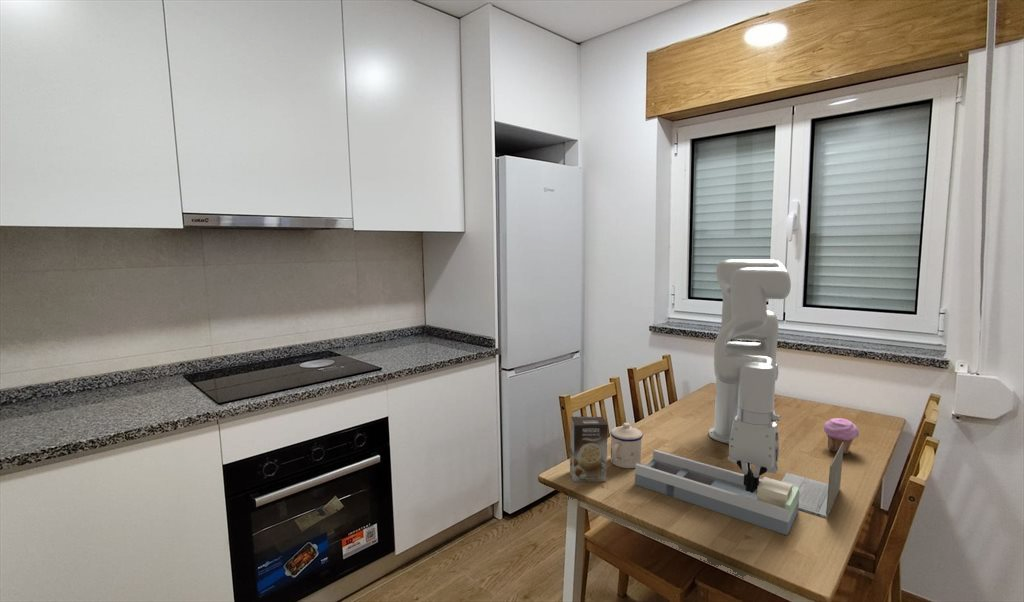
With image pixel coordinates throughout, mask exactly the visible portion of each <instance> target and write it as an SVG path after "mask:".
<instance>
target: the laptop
mask: <svg viewBox="0 0 1024 602" xmlns="http://www.w3.org/2000/svg"><path fill="white" fill-rule="evenodd" d="M843 447H844V442H842V444H841V446H840V448H839V450H838V452H836V454H835V456H834V458H833V460H832V462H831V464H830V467H829V474H828V483H827V482H822V481H818V480H815V479H811V478H808V477H806V476H802V475H801V476H800V475H797V474H794V473H791V472H786V473H785V474H784V475H783V477H782V479H781V480H780V481H781V482H785V483H788V484H792V488H794V486H795V487H798V488H799V490H800V493H799V507H798V511H799V510H800V511H802V512H805V513H808V514H812V515H815V516H818V517H822V518H825V519H828V517H829V514H830V512H831V510H830V509H832V508H833V505H834V503H835V501H836V498H837V495H838V493H839V492H840V490H841V481H842V471H843V470H842V469H843V468H842V467H843V457H844V456H843V455H844V454H843ZM834 500H835V501H834ZM831 507H832V508H831Z"/></svg>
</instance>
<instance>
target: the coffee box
mask: <svg viewBox="0 0 1024 602" xmlns="http://www.w3.org/2000/svg"><path fill="white" fill-rule="evenodd" d="M570 418H571V419H570V447H569V448H570V449H569V451H570V453H569V473H570V477H571V479H572V481H573V482H575V483H576V482H578V483H579V482H581V483H583V482H587V483H588V482H589V483H590V482H593V483H594V482H607V469H608V468H607V464H608V462H607V461H608V460H607V459H608V432H609V431H608V430H609V429H608V427H609V425H608V422H607V421H606V419H604V417H603V416H571V417H570Z"/></svg>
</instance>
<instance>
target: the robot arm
mask: <svg viewBox="0 0 1024 602" xmlns="http://www.w3.org/2000/svg"><path fill="white" fill-rule="evenodd" d="M715 272H716V273H715V274H716V279H717V282H718V285H719V287H720V290H721V293H722V308H721V309H722V310H721V329H720V331H719V332H718V334H717V336H716V339H715V341H714V348H713V350H714V351H713V367H714V368H713V369H714V370H713V371H714V375H715V377H716V379H715V380H716V381H715V399H714V401H715V402H714V424H713V427H711V428H710V429H709V430H708V435H709V437H710V438H712V439H713V440H715V441H717V442H720V443H724V444H728V457H727V459H728V461H729V462H732V463H733V464H735V465H737V466H738V468H739V469H740V470H741V472H742V473H741V474H744V485H745V486H746V491H747V492H748V491H750V492H751V493H753V492H754V491H755V489H757V488H758V485H759V479H760V476H762V475H763V474H765V473H769V474H771V473H772V474H776V473H777V472H778V470H779V467H778V462H779V456H780V455H779V454H780V447H779V445H780V443H779V441H780V439H779V430H778V429H779V428H778V425H777V423H776V422H781V415H778V414H776V412H775V408H774V407H775V395H776V393H775V392H776V381H777V380H778V379H779V365H778V364H777V362H776V360H777V348H778V338H779V321H778V317H777V315H776V314H775V312H773V311H771V310H768V308H767V300H784V299H786V298H788V296H789V294H790V292H791V287H792V283H791V277H790V274H789V271H788V269H787V268H786V267H785V266H784V264H783V263H782V262H780V261H779V260H777V259H776V260H775V259H736V258H735V259H725V260H724V259H723V260H722V261H720V262H718V264H717V266H716V271H715ZM731 340H733V341H731ZM734 340H740V341H734ZM746 341H747V342H746ZM748 341H751V342H748ZM752 341H755V342H752ZM775 362H776V363H775ZM751 464H752V465H754V468H753V470H752V468H751V467H752V465H751Z"/></svg>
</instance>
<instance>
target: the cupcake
mask: <svg viewBox="0 0 1024 602" xmlns="http://www.w3.org/2000/svg"><path fill="white" fill-rule="evenodd" d="M823 431H824V433H825V434H826V435H827V448H828V449H829V450H830V451H832V452H836V453H837V452H838V450H839V448H840V446H841V444H842V442H844V447H843V455H844V454H845V455H847V454H848V453H849V450H850V447H851V445H852V443H853V441H854V439H857V438H858V437H859V434H860V433H859V432H860V431H859V429H858V426H857V425H856V424H854V423H853V422H852V421H850V420H848V419H846V418H842V417H841V418H840V417H836V418H834V417H833V418H830V419H829V420H827V421H826V422H824V424H823Z"/></svg>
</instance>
